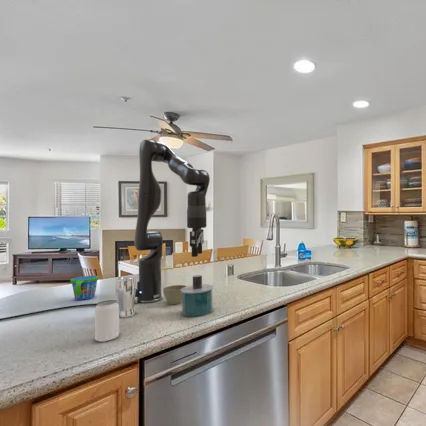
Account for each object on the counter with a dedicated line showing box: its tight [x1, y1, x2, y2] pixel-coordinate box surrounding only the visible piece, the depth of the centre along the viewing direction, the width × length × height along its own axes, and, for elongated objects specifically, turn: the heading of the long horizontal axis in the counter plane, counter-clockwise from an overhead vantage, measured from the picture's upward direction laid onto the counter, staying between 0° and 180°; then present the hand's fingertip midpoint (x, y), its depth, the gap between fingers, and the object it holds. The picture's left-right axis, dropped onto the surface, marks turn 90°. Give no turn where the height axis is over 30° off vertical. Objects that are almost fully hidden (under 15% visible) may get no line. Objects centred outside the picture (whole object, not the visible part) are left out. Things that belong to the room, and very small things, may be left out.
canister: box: [181, 289, 214, 318], centre depth 123 cm, size 12×12×10 cm
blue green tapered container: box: [69, 275, 100, 301], centre depth 144 cm, size 16×10×10 cm
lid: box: [181, 274, 215, 294], centre depth 123 cm, size 13×13×6 cm
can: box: [94, 299, 120, 343], centre depth 98 cm, size 6×6×12 cm
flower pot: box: [162, 284, 187, 305], centre depth 135 cm, size 10×10×7 cm
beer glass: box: [115, 276, 137, 319], centre depth 120 cm, size 7×7×15 cm
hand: (197, 255), depth 123 cm, fingers open, 8 cm apart
